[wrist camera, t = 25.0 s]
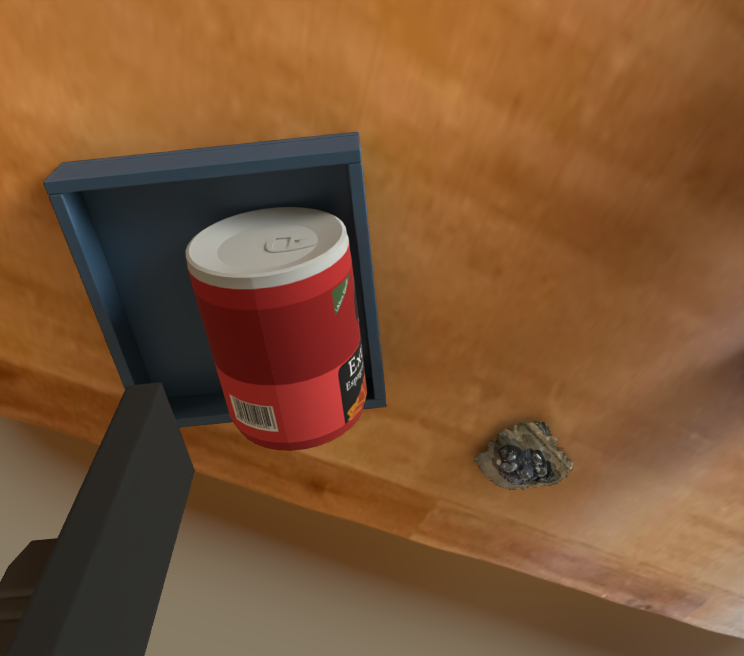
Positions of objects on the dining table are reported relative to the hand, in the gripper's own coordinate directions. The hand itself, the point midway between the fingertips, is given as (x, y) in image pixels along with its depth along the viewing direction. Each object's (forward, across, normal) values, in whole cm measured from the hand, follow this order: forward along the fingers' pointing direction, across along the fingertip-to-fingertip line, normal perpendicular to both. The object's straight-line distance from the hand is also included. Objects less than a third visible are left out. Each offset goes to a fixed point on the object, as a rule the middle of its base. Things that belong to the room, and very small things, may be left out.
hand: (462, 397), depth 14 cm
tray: (+22, -10, -9) cm, 26 cm away
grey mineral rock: (+22, +7, -26) cm, 35 cm away
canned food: (+18, -7, -15) cm, 24 cm away
